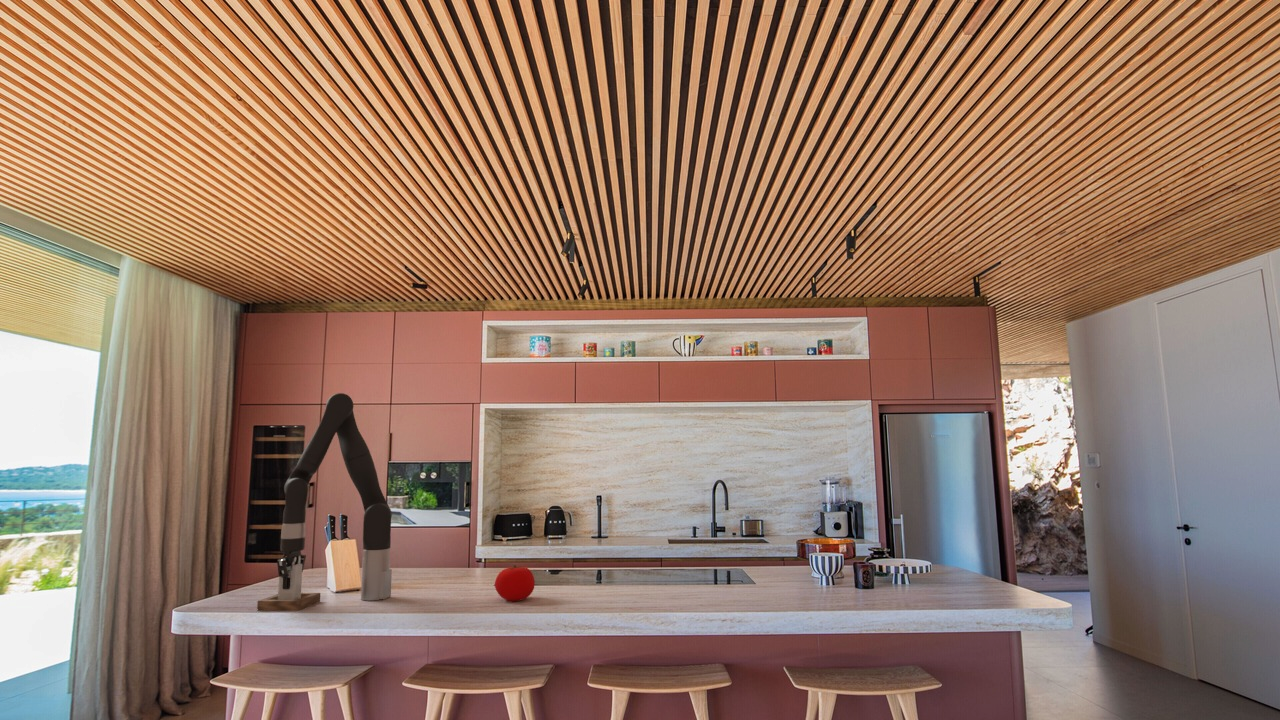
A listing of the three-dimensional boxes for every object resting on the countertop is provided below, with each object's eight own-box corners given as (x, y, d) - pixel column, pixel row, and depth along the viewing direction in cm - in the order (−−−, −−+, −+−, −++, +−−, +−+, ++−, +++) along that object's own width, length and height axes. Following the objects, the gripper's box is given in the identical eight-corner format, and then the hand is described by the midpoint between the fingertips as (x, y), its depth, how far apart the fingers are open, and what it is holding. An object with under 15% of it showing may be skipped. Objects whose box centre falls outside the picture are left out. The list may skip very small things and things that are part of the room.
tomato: (529, 603, 238) (529, 568, 240) (490, 603, 240) (490, 568, 241) (539, 596, 251) (539, 562, 252) (501, 595, 253) (502, 562, 254)
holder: (320, 601, 245) (320, 592, 246) (297, 610, 231) (298, 601, 232) (281, 601, 246) (282, 592, 247) (257, 610, 232) (257, 600, 233)
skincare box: (301, 599, 241) (303, 563, 242) (294, 602, 237) (295, 565, 238) (284, 599, 242) (286, 563, 243) (277, 601, 237) (279, 565, 239)
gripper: (291, 539, 235) (288, 592, 232) (314, 534, 249) (312, 584, 246) (270, 538, 235) (267, 591, 233) (294, 534, 249) (291, 583, 247)
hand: (290, 587), depth 240 cm, fingers closed on skincare box, 4 cm apart
